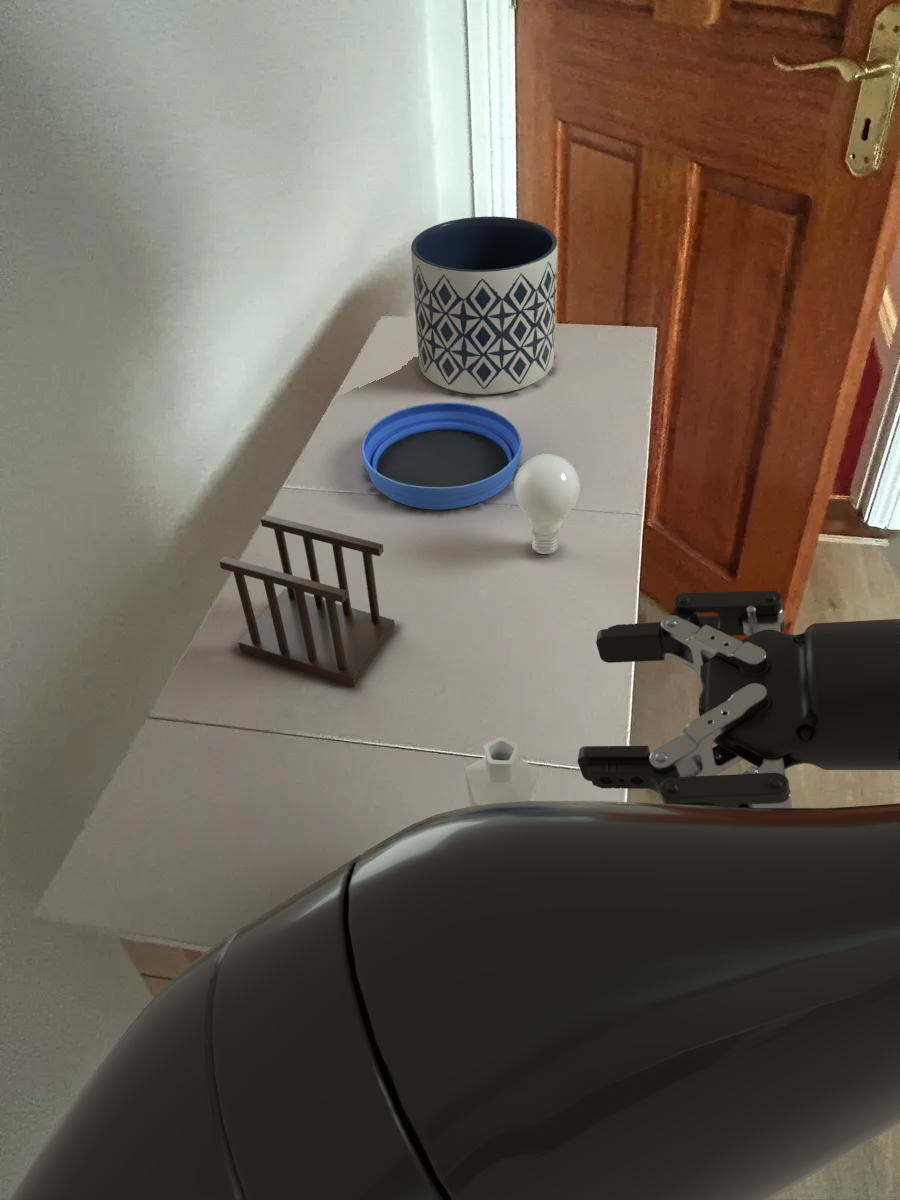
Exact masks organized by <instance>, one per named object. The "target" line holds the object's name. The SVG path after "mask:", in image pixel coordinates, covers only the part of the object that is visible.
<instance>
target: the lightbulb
mask: <svg viewBox="0 0 900 1200" xmlns="http://www.w3.org/2000/svg"><path fill="white" fill-rule="evenodd" d="M580 492H581V481H580V477H579V474H578V472H577V470H576V468H575V466H574V465H573V464H572V463H571V462H570V461H569V460H567V459H566V458H564V457H563V456H560V455H558V454H553V453H541V454H537V455H534V456H532V457H530V458H528V459H527V460H526V461H524V463H522V465H520V468H519V469H518V470H517V472H516V474H515V476H514V481H513V494H514V498H515V501H516V503H517V505H518V506H519V508H520V509H521V511H523V513H524V514H525V515H526V517H527V519H528V523H529V526H530V528H531V548H532V550H533V551H534V552H536V553H538V554H541V555H550V554H553V553H554V552H556V551H557V550H558V548H559V537H560V536H559V534H560V529H561V528H562V525H563V522H564V519H565V517H566V516H567V515H568V514H569V513H570V512H571V511H572V510H573V508H574V507H575V505H576V503H577V502H578V500H579V496H580Z"/></svg>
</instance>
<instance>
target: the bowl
mask: <svg viewBox="0 0 900 1200" xmlns="http://www.w3.org/2000/svg"><path fill="white" fill-rule="evenodd" d="M522 451H523V446H522V436H521V433H520V432H519V430H518V429H517V427H516V426H515V424H513V423H512V421H510V419H508V418H507V417H506V416H503V415H502V414H500V413H499V412H497V411H494V410H491V409H490V408H486V407H483V406H479V405H476V404H470V403H465V402H464V403H463V402H430V403H423V404H418V405H413V406H409V407H405V408H402V409H399V410H396V411H394V412H392V413H390V414H388V415H385V416H384V417H383V418H381V419H379V420H378V421H376V422H375V423H374V424H373V425H372V426H371V427H370V428H369V430H368V431H367V432H366V434H365V435H364V437H363V441H362V445H361V456H362V462H363V464H364V467H365V470H366V471H367V473H368V476H369V478H370V480H371V482H372V484H373V485H374V487H375V488H376V489H377V490H378V491H379V492H380V493H382V495H384V496H386V497H387V498H388V499H391V500H392V501H395V502H397V503H399V504H401V505H405V506H408V507H412V508H417V509H424V510H453V509H459V508H465V507H469V506H473V505H476V504H479V503H482V502H485V501H487V500H489V499H491V498H493V497H494V496H496V495H497V494H499V493H500V492H502V491H503V490H504V489H505V488H507V486H508V485H509V484H510V482H511V481H512V480H513V478H514V477H515V475H516V474H515V473H516V470H517V466H518V464H519V462H520V458H521V456H522Z"/></svg>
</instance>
